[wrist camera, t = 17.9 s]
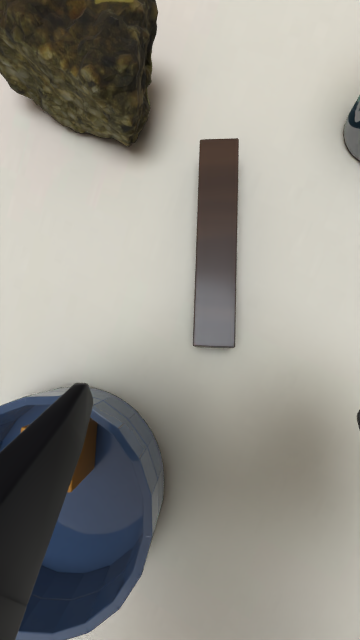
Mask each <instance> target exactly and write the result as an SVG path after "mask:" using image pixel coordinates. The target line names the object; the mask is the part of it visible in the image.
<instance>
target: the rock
mask: <svg viewBox="0 0 360 640" xmlns="http://www.w3.org/2000/svg"><path fill="white" fill-rule="evenodd" d="M157 15H158V10H157V5H156V1H155V0H0V73H1V74H2V76H3V77H4V78H5V79H6V81H7V82H8V84H9V86H10V87H11V88H12V89H13V90H14V91H15V92H17V93H18V94H21V95H24V96H26V97H28V98H31V99H33V100H34V102H35V103H36V104H37V105H39V106H40V107H41V108H42V109H43V111H45V112H47V113H49V114H50V115H51V116H52V117H53V118H54V119H55V120H57V121H58V122H60V123H61V124H62V125H63V126H68V127H70V128H71V129H73V130H74V131H75V132H80V133H84V132H88V133H91V134H93V135H96V136H98V137H103V138H104V137H107V138H112V137H113V138H115V139H116V140H118V141H119V142H121V143H123V144H124V145H125V146H130V145H131V144H132V143H134V142H135V141H136V140H137V138H138V133H139V132H140V131H141V130H142V128H143V127H144V125H145V123H146V121H147V119H148V114H149V111H150V102H149V99H148V95H147V87H148V86H149V85H150V83H151V73H152V61H151V53H152V45H153V41H154V39H155V36H156V31H157V24H156V21H157Z"/></svg>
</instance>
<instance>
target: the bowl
mask: <svg viewBox="0 0 360 640" xmlns="http://www.w3.org/2000/svg"><path fill="white" fill-rule="evenodd" d="M69 388H70V387H66V388H57V389H54V390H50V391H46V392H42V393H38V394H34V395H30V396H26V397H23V398H20V399H17V400H15V401H12V402H9V403H6V404H4V405H1V406H0V452H1V451H2V450H3V449H4V448H5V447H6V446H7V445H8V444H9V443H10V442H11V441H13V440H14V439H15V438H16V437H17V436H18V435H19V434H20V433H21V428H22V427H24V426H27V425H29V424H31V423H32V422H33V421H34V420H35V419H37V418H38V417H39V416H40V415H41V414H42V413H43V412H44V411H45V410H46V409H47V408H49V407H50V406H51V405H52V404H53V403H54V402H55V401H56V400H57V399H58V398H59V397H61V396H62V395H63V394H64V393H65V392H66V391H67V390H68V389H69ZM89 388H90V387H89ZM90 391H91V393H92V396H93V407H92V411H91V416H90V418H92V419H93V420H94V421H95V422H97V436H96V451H95V466H94V469H93V470H92V471H91V472H90V473H89V474H88V475H87V476H86V477H85V478H84V479H83V480H82V481H81V483H80V484H79V485H78V486H77V487H76V488H75V489H74V490H73V491H72V492H67V494H66V497H65V500H64V503H63V506H62V508H61V511H60V514H59V517H58V520H57V523H56V525H55V528H54V531H53V534H52V537H51V540H50V542H49V545H48V548H47V551H46V554H45V557H44V559H43V562H42V565H41V568H40V571H39V574H38V576H37V579H36V582H35V585H34V588H33V591H32V593H31V596H30V599H29V602H28V604H27V605H26V606H27V608H26V611H25V614H24V617H23V619H22V622H21V625H20V628H19V631H18V634H17V636H16V639H15V640H67V639H70V638H74V637H77V636H80V635H83V634H86V633H89V632H90V631H92V630H93V629H94V628H96V627H97V626H98V625H99V624H101V623H102V622H103V621H105V620H106V619H107V618H108V617H110V616H111V615H112V614H114V613H115V612H116V611H117V610H119V608H120V607H121V606H122V604H123V603H124V601H125V600H126V598H127V597H128V595H129V594H130V592H131V591H132V589H133V588H134V586H135V585H136V583H137V582H138V580H139V578H140V577H141V575H142V572H143V569H144V565H145V562H146V558H147V555H148V551H149V548H150V544H151V541H152V537H153V534H154V530H155V526H156V523H157V519H158V516H159V512H160V509H161V505H162V502H163V497H164V494H163V493H164V469H163V462H162V457H161V453H160V450H159V447H158V444H157V441H156V439H155V437H154V435H153V433H152V431H151V430H150V428H149V427H148V425H147V423H146V422H145V420H144V419H143V418H142V417H141V416H140V415H139V413H138V412H137V411H136V410H134V409H133V408H132V407H131V406H130V405H129V404H128V403H126V402H125V401H123V400H122V399H120V398H119V397H117V396H115V395H113V394H111V393H109V392H106V391H103V390H100V389H95V388H90Z"/></svg>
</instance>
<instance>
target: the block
mask: <svg viewBox="0 0 360 640" xmlns="http://www.w3.org/2000/svg"><path fill="white" fill-rule="evenodd" d="M29 425H30V424H29ZM29 425H27V426H24V427H22V428H21V432H22V431H23V430H25V429H26V428H27V427H28V426H29ZM96 436H97V422H95V421H94V420H93V419H92V418H90V420H89V424H88V428H87V433H86V437H85V441H84V445H83V448H82V451H81V455H80V457H79V460H78V463H77V466H76V469H75V472H74V474H73V477H72V480H71V483H70V486H69V489H68V491H67V492H72V491H73V490H74V489H75V488H76V487H77V486H78V485H79V484H80V483H81V481H82V480H83V479H84V478H85V477H86V476H87V475H88V474H89V473H90V472H91V471H92V470H93V469H94V466H95V451H96Z"/></svg>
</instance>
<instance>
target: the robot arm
mask: <svg viewBox="0 0 360 640" xmlns="http://www.w3.org/2000/svg"><path fill="white" fill-rule="evenodd" d="M92 407H93V396H92V393H91V391H90V388H89V385H88V384H86V383H75V384H74V385H72V386H71V387H70V388H69V389H68V390H67V391H66V392H65V393H64V394H63V395H62V396H61V397H59V398H58V399H57V400H56V401H55V402H54V403H53V404H52V405H51V406H50V407H49V408H47V409H46V410H45V411H44V412H43V413H42V414H41V415H40V416H39V417H38V418H37V419H35V420H34V421H33V422H32V423H31V424H30V425H29V426H28V427H27V428H26V429H25V430H23V431H22V432H21V433H20V434H19V435H18V436H17V437H16V438H15V439H14V440H13V441H11V442H10V443H9V444H8V445H7V446H6V447H5V448H4V449H3V450H2V451H1V452H0V640H15V639H16V636H17V634H18V631H19V628H20V625H21V622H22V619H23V617H24V614H25V611H26V608H27V606H26V605H27V604H28V602H29V599H30V596H31V593H32V591H33V588H34V585H35V582H36V579H37V576H38V574H39V571H40V568H41V565H42V562H43V559H44V557H45V554H46V551H47V548H48V545H49V542H50V540H51V537H52V534H53V531H54V528H55V525H56V523H57V520H58V517H59V514H60V511H61V508H62V506H63V503H64V500H65V497H66V494H67V491H68V489H69V486H70V483H71V480H72V477H73V474H74V472H75V469H76V466H77V463H78V460H79V457H80V455H81V451H82V448H83V445H84V441H85V437H86V433H87V428H88V424H89V420H90V416H91V411H92ZM357 421H358V425H359V429H360V410H359V412H358V414H357Z"/></svg>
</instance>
